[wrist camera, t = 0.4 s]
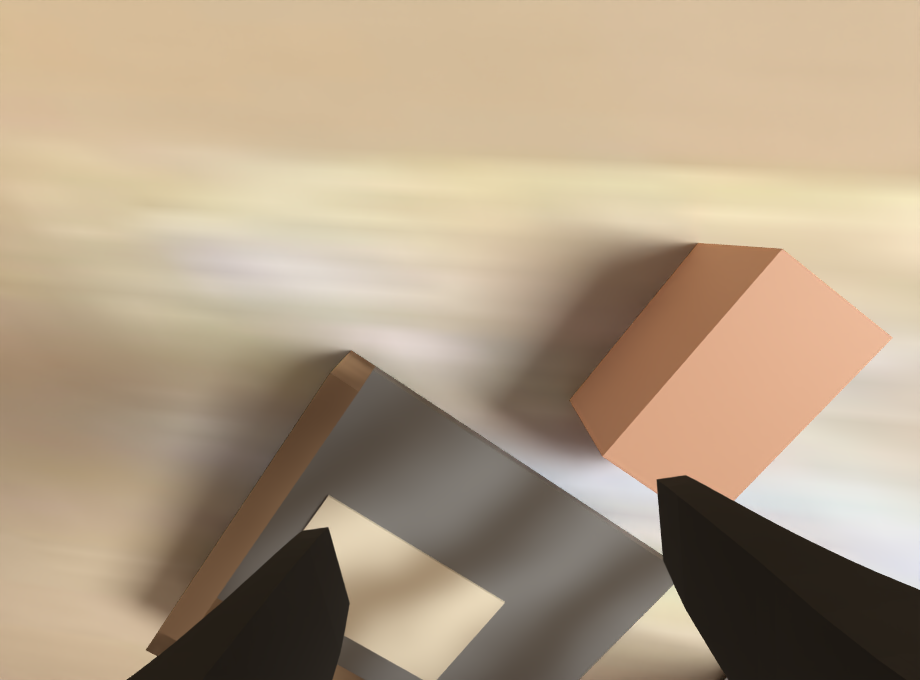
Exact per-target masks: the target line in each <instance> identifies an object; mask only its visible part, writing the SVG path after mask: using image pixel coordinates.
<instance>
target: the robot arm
mask: <svg viewBox="0 0 920 680" xmlns="http://www.w3.org/2000/svg"><path fill="white" fill-rule="evenodd" d="M656 480H657V492H658V504H659V516H660V528H661V540H662V551H663V562H664V564H665V566H666V568H667V570H668V573H669V575H670V577H671V579H672V581H673V584H674V586H675V588H676V590H677V592H678V594H679V596H680V599H681V601H682V603H683V605H684V607H685V609H686V611H687V612H688V614H689V616H690V618H691V619H692V621H693V623H694V624H695V626H696V628H697V629H698V631H699V633H700V634H701V636H702V638H703V639H704V641H705V643H706V644H707V646H708V647H709V649H710V651H711V652H712V654H713V656H714V657H715V659H716V661H717V662H718V664H719V666H720V667H721V669H722V670H723V672H724V674H725V675H726V677H727V678H726V679H724V680H920V590H919V589H916V588H914V587H911V586H909V585H907V584H904V583H902V582H899V581H897V580H894V579H892V578H890V577H887V576H885V575H882V574H880V573H877V572H875V571H873V570H871V569H868V568H866V567H864V566H862V565H859V564H857V563H855V562H853V561H850V560H848V559H846V558H844V557H842V556H840V555H838V554H836V553H834V552H832V551H829V550H827V549H825V548H823V547H821V546H819V545H817V544H815V543H813V542H811V541H809V540H807V539H805V538H803V537H801V536H799V535H797V534H795V533H793V532H791V531H789V530H787V529H785V528H783V527H781V526H779V525H777V524H775V523H773V522H772V521H770V520H768V519H766V518H764V517H762V516H760V515H758V514H757V513H755V512H753V511H751V510H749V509H747V508H746V507H744V506H742V505H740V504H738V503H737V502H735V501H733V500H731V499H729V498H728V497H726V496H724V495H722V494H720V493H719V492H717V491H715V490H713V489H711V488H710V487H708V486H706V485H704V484H702V483H700V482H698V481H697V480H695V479H693V478H691V477H689V476H687V475H683V476H676V477H669V478H662V479H656ZM349 605H350V602H349V598H348V595H347V591H346V588H345V584H344V581H343V577H342V573H341V570H340V566H339V563H338V559H337V556H336V552H335V548H334V545H333V541H332V538H331V534H330V531H329V527H324V528H317V529H310V530H304V531H301V532H300V533H299V534H297V535H296V536H295V537H294V538H292V539H291V540H290V541H289V542H288V543H287V544H285V545H284V546H283V547H282V548H281V549H280V550H279V551H278V552H276V553H275V554H274V555H273V556H272V557H271V558H270V559H269V560H268V561H267V562H266V563H264V564H263V565H262V566H261V567H260V568H259V569H258V570H257V571H256V572H255V573H254V574H252V575H251V576H250V577H249V578H248V579H247V580H246V581H245V582H244V583H243V584H241V585H240V586H239V587H238V588H237V589H236V590H235V591H234V592H233V593H232V594H230V595H229V596H228V597H227V598H226V599H225V600H224V601H223V602H222V603H220V604H219V605H218V606H217V607H216V608H215V609H213V610H212V611H211V612H210V613H209V614H207V615H206V616H205V617H204V618H203V619H202V620H200V621H199V622H198V623H197V624H196V625H195V626H193V627H192V628H191V629H190V630H189V631H188V632H186V633H185V634H184V635H183V636H182V637H181V638H179V639H178V640H177V641H176V642H175V643H173V644H172V645H171V646H170V647H168V648H167V649H166V650H165V651H164V652H162V653H161V654H160V655H158V656H157V657H156V658H155V659H153V660H152V661H151V662H150V663H148V664H147V665H146V666H144V667H143V668H142V669H140V670H139V671H138V672H136V673H135V674H134V675H132V676H131V677H130V678H128V679H127V680H332V679H333V676H334V673H335V670H336V666H337V663H338V660H339V656H340V653H341V648H342V643H343V638H344V633H345V628H346V622H347V617H348V611H349Z"/></svg>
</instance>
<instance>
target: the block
mask: <svg viewBox="0 0 920 680" xmlns="http://www.w3.org/2000/svg"><path fill="white" fill-rule="evenodd" d="M891 339H892V337H891V336H890V335H889V334H887V333H886V332H885V331H884V330H882V329H881V328H880V327H879V326H878V325H876V324H875V323H874V322H873V321H871V320H870V319H869V318H868V317H866V316H865V315H864V314H863V313H861V312H860V311H859V310H858V309H856V308H855V307H854V306H853V305H851V304H850V303H849V302H848V301H847V300H845V299H844V298H843V297H842V296H840V295H839V294H838V293H837V292H835V291H834V290H833V289H832V288H830V287H829V286H828V285H827V284H825V283H824V282H823V281H822V280H820V279H819V278H818V277H817V276H816V275H814V274H813V273H812V272H811V271H809V270H808V269H807V268H806V267H804V266H803V265H802V264H801V263H799V262H798V261H797V260H796V259H794V258H793V257H792V256H791V255H789V254H788V253H787V252H786V251H785V250H783V249H777V248H763V247H748V246H734V245H719V244H704V243H698V244H697V245H696V246H695V247H694V248H693V250H692V251H691V252H690V253H689V255H688V256H687V257H686V258H685V259H684V261H683V262H682V263H681V264H680V266H679V267H678V268H677V269H676V270H675V272H674V273H673V274H672V275H671V277H670V278H669V279H668V280H667V281H666V283H665V284H664V285H663V286H662V288H661V289H660V290H659V291H658V292H657V294H656V295H655V296H654V297H653V299H652V300H651V301H650V302H649V303H648V305H647V306H646V307H645V308H644V310H643V311H642V312H641V313H640V314H639V316H638V317H637V318H636V319H635V321H634V322H633V323H632V324H631V325H630V327H629V328H628V329H627V330H626V332H625V333H624V334H623V335H622V336H621V338H620V339H619V340H618V341H617V343H616V344H615V345H614V346H613V347H612V349H611V350H610V351H609V352H608V354H607V355H606V356H605V357H604V358H603V360H602V361H601V362H600V363H599V365H598V366H597V367H596V368H595V369H594V371H593V372H592V373H591V374H590V376H589V377H588V378H587V379H586V380H585V382H584V383H583V384H582V385H581V387H580V388H579V389H578V390H577V391H576V393H575V394H574V395H573V396H572V398H571V399H570V400H569V401H570V402H571V404H572V406H573V407H574V409H575V411H576V412H577V414H578V416H579V418H580V419H581V421H582V423H583V424H584V426H585V428H586V429H587V431H588V433H589V434H590V436H591V438H592V440H593V441H594V443H595V445H596V446H597V448H598V450H599V451H600V453H601V455H602V456H603V457H604V458H605V459H607V460H608V461H610V462H611V463H613V464H614V465H616V466H617V467H619V468H620V469H622V470H623V471H625V472H626V473H628V474H629V475H630V476H632V477H633V478H635V479H636V480H638V481H639V482H641V483H642V484H644V485H645V486H647V487H648V488H650V489H651V490H653V491H654V492H655V493H657V494H658V492H657V480H656V479H662V478H669V477H676V476H683V475H687V476H689V477H691V478H693V479H695V480H697V481H698V482H700V483H702V484H704V485H706V486H708V487H710V488H711V489H713V490H715V491H717V492H719V493H720V494H722V495H724V496H726V497H728V498H729V499H731V500H733V501H734V500H735V499H736V498H737V497H738V496H739V495H740V494H741V493H742V492H743V491H744V490H745V489H746V488H747V487H748V486H749V485H750V484H751V483H752V482H753V481H754V480H755V478H756V477H757V476H758V475H759V474H760V473H761V472H762V471H763V470H764V469H765V468H766V467H767V466H768V465H769V464H770V463H771V462H772V461H773V460H774V459H775V458H776V457H777V456H778V455H779V454H780V453H781V452H782V451H783V450H784V449H785V448H786V447H787V446H788V445H789V444H790V443H791V442H792V441H793V439H794V438H795V437H796V436H797V435H798V434H799V433H800V432H801V431H802V430H803V429H804V428H805V427H806V426H807V425H808V424H809V423H810V422H811V421H812V420H813V419H814V418H815V417H816V416H817V415H818V414H819V413H820V412H821V411H822V410H823V409H824V408H825V407H826V406H827V405H828V404H829V403H830V402H831V400H832V399H833V398H834V397H835V396H836V395H837V394H838V393H839V392H840V391H841V390H842V389H843V388H844V387H845V386H846V385H847V384H848V383H849V382H850V381H851V380H852V379H853V378H854V377H855V376H856V375H857V374H858V373H859V372H860V371H861V370H862V369H863V368H864V367H865V366H866V365H867V364H868V363H869V362H870V360H871V359H872V358H873V357H874V356H875V355H876V354H877V353H878V352H879V351H880V350H881V349H882V348H883V347H884V346H885V345H886V344H887V343H888V342H889V341H890V340H891Z"/></svg>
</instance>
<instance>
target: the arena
mask: <svg viewBox="0 0 920 680" xmlns="http://www.w3.org/2000/svg"><path fill="white" fill-rule="evenodd" d="M324 527H329V531H330V534H331V538H332V541H333V545H334V548H335V552H336V556H337V559H338V563H339V566H340V570H341V573H342V577H343V581H344V584H345V588H346V591H347V595H348V598H349V602H350V605H349V611H348V617H347V622H346V628H345V633H344V638H343V643H342V648H341V653H340V656H339V660H338V663H337V666H336V670H335V673H334V676H333V679H332V680H579V679H580V678H581V677H582V676H583V675H584V674H585V673H586V672H587V671H588V670H589V669H590V668H591V667H592V666H593V665H594V664H595V663H596V662H597V661H598V660H599V659H600V658H601V657H602V656H603V655H604V654H605V653H606V652H607V651H608V650H609V649H610V648H611V647H612V646H613V645H614V644H615V643H616V642H617V641H618V640H619V639H620V638H621V637H622V636H623V635H624V634H625V633H626V632H627V631H628V630H629V629H630V628H631V627H632V626H633V625H634V624H635V623H636V622H637V621H638V620H639V619H640V618H641V617H642V616H643V615H644V614H645V613H646V612H647V611H648V610H649V609H650V608H651V607H652V606H653V605H654V604H655V603H656V602H657V601H658V600H659V599H660V598H661V597H662V596H663V595H664V594H665V592H666V591H667V590H668V589H669V588H670V587H671V586H672V585H673V581H672V579H671V577H670V575H669V573H668V570H667V568H666V566H665V564H664V562H663V555H661V554H660V553H658V552H657V551H655V550H654V549H652V548H651V547H649V546H648V545H646V544H645V543H643V542H642V541H640V540H638V539H637V538H635V537H634V536H632V535H631V534H629V533H628V532H626V531H625V530H623V529H622V528H620V527H619V526H617V525H616V524H614V523H613V522H611V521H610V520H608V519H607V518H605V517H604V516H602V515H601V514H599V513H597V512H596V511H594V510H593V509H591V508H590V507H588V506H587V505H585V504H584V503H582V502H581V501H579V500H578V499H576V498H575V497H573V496H572V495H570V494H569V493H567V492H566V491H564V490H563V489H561V488H560V487H558V486H556V485H555V484H553V483H552V482H550V481H549V480H547V479H546V478H544V477H543V476H541V475H540V474H538V473H537V472H535V471H534V470H532V469H531V468H529V467H528V466H526V465H525V464H523V463H522V462H520V461H519V460H517V459H515V458H514V457H512V456H511V455H509V454H508V453H506V452H505V451H503V450H502V449H500V448H499V447H497V446H496V445H494V444H493V443H491V442H490V441H488V440H487V439H485V438H484V437H482V436H481V435H479V434H478V433H476V432H474V431H473V430H471V429H470V428H468V427H467V426H465V425H464V424H462V423H461V422H459V421H458V420H456V419H455V418H453V417H452V416H450V415H449V414H447V413H446V412H444V411H443V410H441V409H440V408H438V407H437V406H435V405H433V404H432V403H430V402H429V401H427V400H426V399H424V398H423V397H421V396H420V395H418V394H417V393H415V392H414V391H412V390H411V389H409V388H408V387H406V386H405V385H403V384H402V383H400V382H399V381H397V380H396V379H394V378H392V377H391V376H389V375H388V374H386V373H385V372H383V371H382V370H380V369H379V368H377V367H376V366H374V365H373V364H371V363H370V362H368V361H367V360H365V359H364V358H362V357H361V356H359V355H358V354H356V353H355V352H353V351H350V352H349V353H348V354H347V355H346V356H345V358H344V359H343V360H342V361H341V362H340V363H339V364H338V365H337V366H336V367H335V368H334V369H333V370H332V371H331V372H330V374H329V375H328V377H327V378H326V380H325V381H324V383H323V384H322V386H321V387H320V389H319V390H318V392H317V393H316V395H315V396H314V398H313V399H312V401H311V402H310V404H309V405H308V407H307V408H306V410H305V411H304V413H303V414H302V416H301V417H300V419H299V420H298V422H297V423H296V425H295V426H294V428H293V429H292V431H291V432H290V434H289V435H288V437H287V438H286V440H285V441H284V443H283V444H282V446H281V447H280V449H279V450H278V452H277V453H276V455H275V456H274V458H273V459H272V461H271V462H270V464H269V465H268V467H267V468H266V470H265V471H264V473H263V475H262V476H261V478H260V479H259V481H258V482H257V484H256V485H255V487H254V488H253V490H252V491H251V493H250V494H249V496H248V497H247V499H246V500H245V502H244V503H243V505H242V506H241V508H240V509H239V511H238V512H237V514H236V515H235V517H234V518H233V520H232V521H231V523H230V524H229V526H228V527H227V529H226V530H225V532H224V533H223V535H222V536H221V538H220V539H219V541H218V542H217V544H216V545H215V547H214V548H213V550H212V551H211V553H210V554H209V556H208V557H207V559H206V560H205V562H204V563H203V565H202V566H201V568H200V569H199V571H198V572H197V574H196V575H195V577H194V578H193V580H192V581H191V583H190V584H189V586H188V587H187V589H186V590H185V592H184V593H183V595H182V596H181V598H180V599H179V601H178V602H177V604H176V605H175V607H174V608H173V610H172V611H171V613H170V614H169V616H168V617H167V619H166V620H165V622H164V623H163V625H162V626H161V628H160V630H159V631H158V633H157V634H156V636H155V637H154V639H153V640H152V642H151V643H150V645H149V646H148V648H147V649H146V650H147V651H149V652H150V653H152V654H154V655H156V656H158V655H160V654H161V653H162V652H164V651H165V650H166V649H167V648H168V647H170V646H171V645H172V644H173V643H175V642H176V641H177V640H178V639H179V638H181V637H182V636H183V635H184V634H185V633H186V632H188V631H189V630H190V629H191V628H192V627H193V626H195V625H196V624H197V623H198V622H199V621H200V620H202V619H203V618H204V617H205V616H206V615H207V614H209V613H210V612H211V611H212V610H213V609H215V608H216V607H217V606H218V605H219V604H220V603H222V602H223V601H224V600H225V599H226V598H227V597H228V596H229V595H230V594H232V593H233V592H234V591H235V590H236V589H237V588H238V587H239V586H240V585H241V584H243V583H244V582H245V581H246V580H247V579H248V578H249V577H250V576H251V575H252V574H254V573H255V572H256V571H257V570H258V569H259V568H260V567H261V566H262V565H263V564H264V563H266V562H267V561H268V560H269V559H270V558H271V557H272V556H273V555H274V554H275V553H276V552H278V551H279V550H280V549H281V548H282V547H283V546H284V545H285V544H287V543H288V542H289V541H290V540H291V539H292V538H294V537H295V536H296V535H297V534H299V533H300V532H301V531H304V530H310V529H317V528H324Z"/></svg>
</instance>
